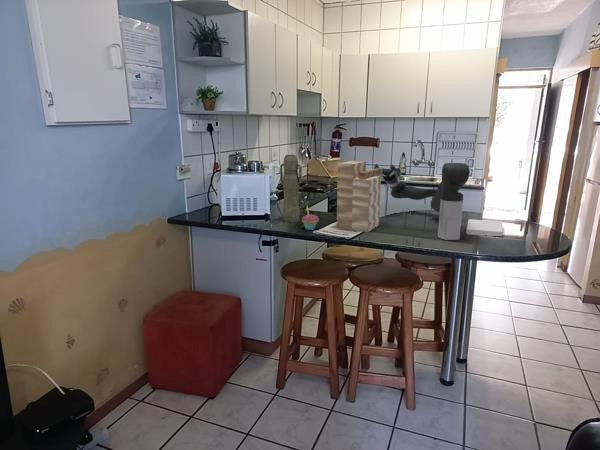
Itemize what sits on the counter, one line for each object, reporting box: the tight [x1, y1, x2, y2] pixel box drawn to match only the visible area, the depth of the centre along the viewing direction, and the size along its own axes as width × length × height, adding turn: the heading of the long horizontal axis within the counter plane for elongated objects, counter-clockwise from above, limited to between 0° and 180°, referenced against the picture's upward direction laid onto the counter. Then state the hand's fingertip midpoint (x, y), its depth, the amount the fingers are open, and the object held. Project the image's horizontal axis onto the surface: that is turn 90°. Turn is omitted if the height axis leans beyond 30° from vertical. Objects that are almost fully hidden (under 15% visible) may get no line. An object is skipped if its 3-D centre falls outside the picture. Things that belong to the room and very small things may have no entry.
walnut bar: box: [359, 167, 383, 179], centre depth 197 cm, size 24×3×3 cm, turn 149°
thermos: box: [279, 154, 303, 223], centre depth 213 cm, size 9×12×35 cm
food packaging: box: [465, 218, 504, 237], centre depth 191 cm, size 15×3×20 cm
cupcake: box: [301, 205, 320, 231], centre depth 197 cm, size 9×8×12 cm
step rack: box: [336, 160, 382, 233], centre depth 197 cm, size 16×16×32 cm
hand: (383, 165), depth 211 cm, fingers open, 8 cm apart
